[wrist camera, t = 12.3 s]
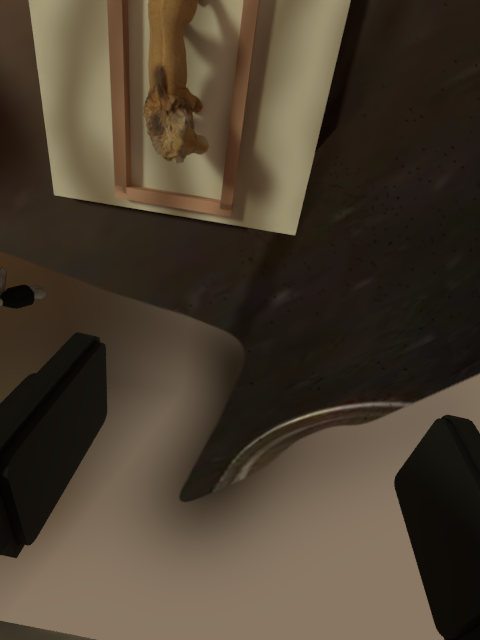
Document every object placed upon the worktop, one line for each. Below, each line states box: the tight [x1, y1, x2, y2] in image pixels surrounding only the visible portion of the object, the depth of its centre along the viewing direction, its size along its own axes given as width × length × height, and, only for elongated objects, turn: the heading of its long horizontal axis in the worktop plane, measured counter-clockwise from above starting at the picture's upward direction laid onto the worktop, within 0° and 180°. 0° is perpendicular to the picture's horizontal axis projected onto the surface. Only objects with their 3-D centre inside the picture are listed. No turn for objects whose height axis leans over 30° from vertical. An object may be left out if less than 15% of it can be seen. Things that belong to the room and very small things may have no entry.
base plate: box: [29, 0, 351, 235], centre depth 26 cm, size 22×20×3 cm
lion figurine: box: [143, 0, 209, 164], centre depth 22 cm, size 12×4×7 cm, turn 3°
